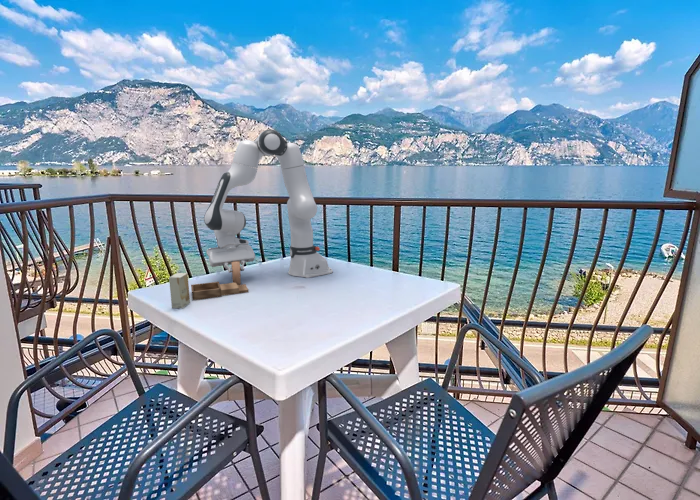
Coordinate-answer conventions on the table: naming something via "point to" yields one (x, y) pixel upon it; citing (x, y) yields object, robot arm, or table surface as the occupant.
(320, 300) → the table surface
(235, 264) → the wooden block
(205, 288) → the wooden desk organizer
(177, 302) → the skincare box
